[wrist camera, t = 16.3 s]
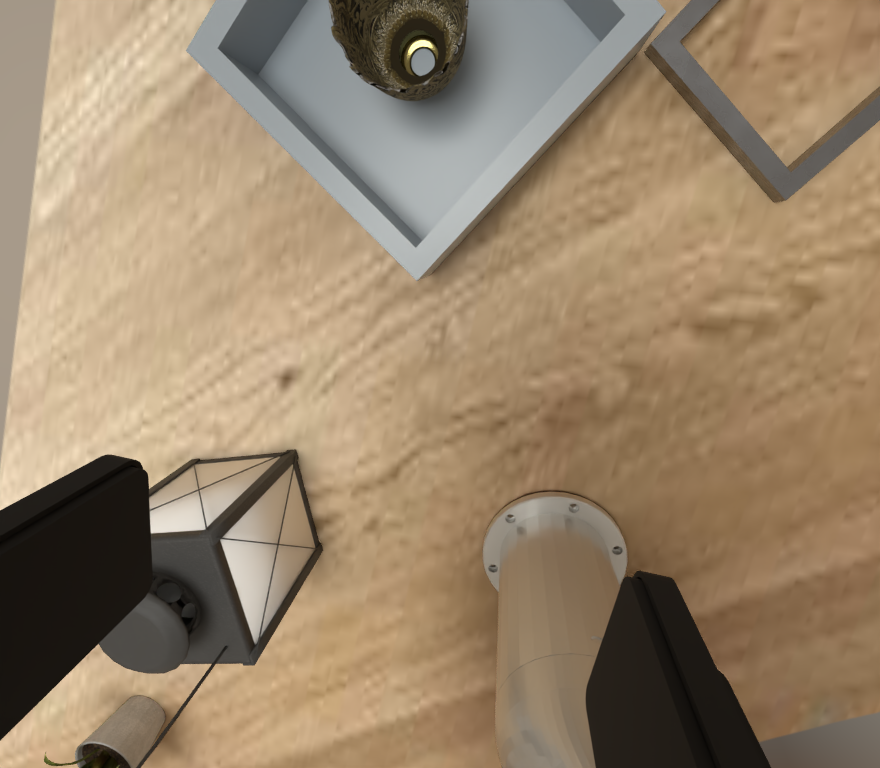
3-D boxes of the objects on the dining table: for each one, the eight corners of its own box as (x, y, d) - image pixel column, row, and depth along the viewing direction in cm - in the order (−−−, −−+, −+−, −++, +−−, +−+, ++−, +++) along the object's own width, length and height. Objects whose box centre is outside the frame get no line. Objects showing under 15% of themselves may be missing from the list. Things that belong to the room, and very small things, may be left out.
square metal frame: (974, 29, 28) (999, 18, 27) (773, 202, 32) (785, 200, 31) (836, -153, 27) (854, -175, 25) (644, 52, 31) (650, 43, 30)
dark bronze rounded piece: (352, 34, 32) (303, -29, 25) (450, -28, 30) (430, -116, 23) (398, 143, 34) (366, 115, 26) (494, 90, 32) (490, 45, 24)
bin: (637, 52, 31) (666, 11, 25) (431, 274, 37) (416, 280, 31) (419, -199, 29) (398, -305, 23) (238, 81, 35) (185, 50, 29)
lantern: (191, 457, 46) (-253, 764, 19) (297, 447, 44) (-35, 775, 17) (223, 555, 49) (-120, 937, 22) (324, 550, 47) (79, 963, 20)
